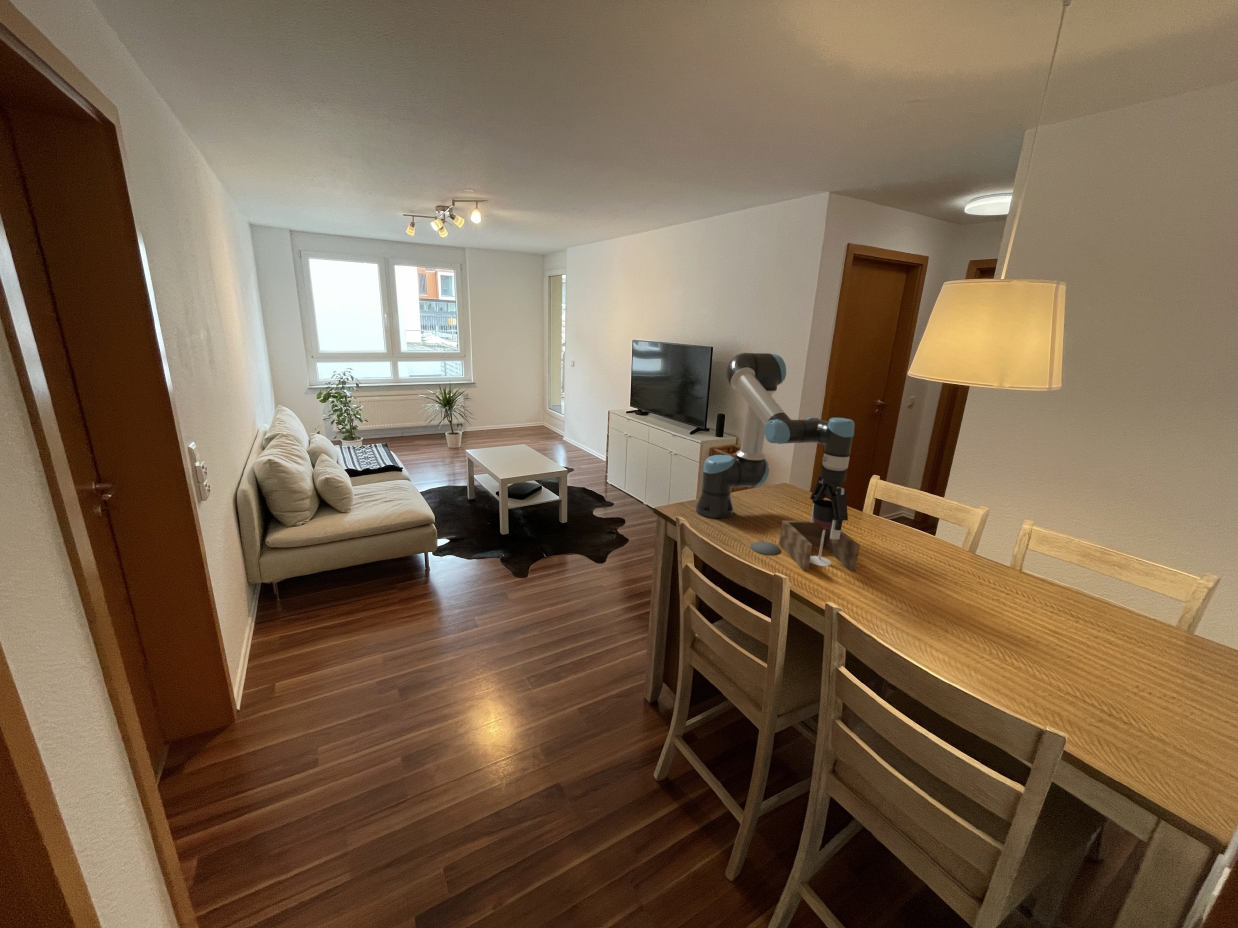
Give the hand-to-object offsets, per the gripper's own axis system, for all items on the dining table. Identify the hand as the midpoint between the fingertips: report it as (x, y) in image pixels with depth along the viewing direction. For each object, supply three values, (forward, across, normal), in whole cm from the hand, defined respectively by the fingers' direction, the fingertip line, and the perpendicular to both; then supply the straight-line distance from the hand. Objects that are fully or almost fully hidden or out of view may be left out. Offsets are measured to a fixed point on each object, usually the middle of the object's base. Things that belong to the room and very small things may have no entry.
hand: (824, 530), depth 161 cm
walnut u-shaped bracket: (+11, -3, 0) cm, 11 cm away
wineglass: (+11, 0, 0) cm, 11 cm away
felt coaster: (+11, -9, -15) cm, 21 cm away
